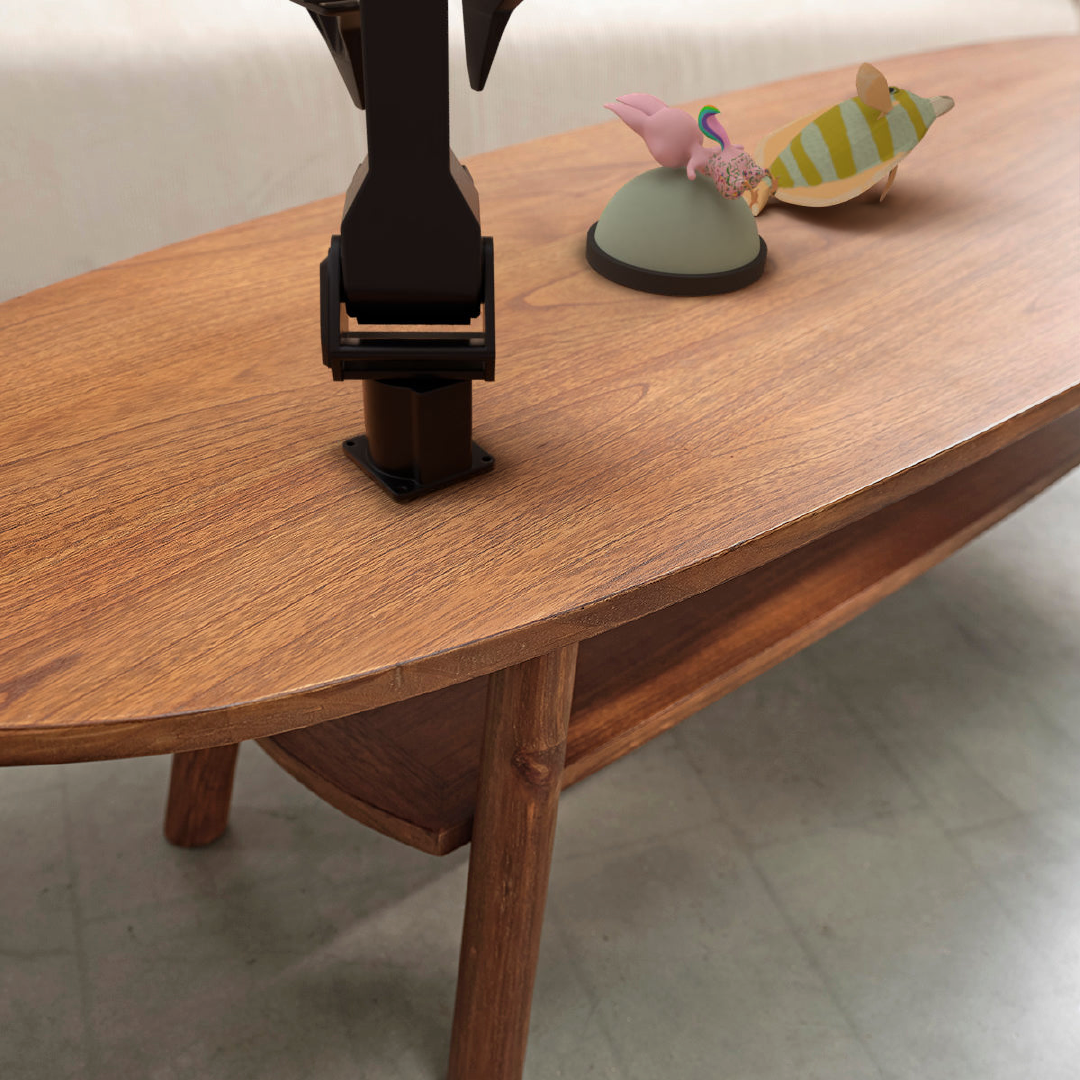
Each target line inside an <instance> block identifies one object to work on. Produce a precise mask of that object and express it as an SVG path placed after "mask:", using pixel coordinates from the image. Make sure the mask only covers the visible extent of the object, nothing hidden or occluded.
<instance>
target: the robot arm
mask: <svg viewBox="0 0 1080 1080" xmlns="http://www.w3.org/2000/svg"><path fill="white" fill-rule="evenodd" d="M288 1H289V2H290V3H293V4H295V5H298V6H300V7H303V8H304V9H305V10H306V12H307V13H308V15H309V17H310V18H311V20H312V22H313V23H314V25H315V27H316V28H317V31H318V32H319V34H320V36H321V37H322V39H323V41H324V43H325V45H326V46H327V49H328V51H329V53H330V55H331V57H332V59H333V61H334V64H335V65H336V68H337V70H338V72H339V74H340V77H341V79H342V81H343V83H344V85H345V87H346V89H347V93H349V96H350V99H351V100H352V102H353V105H354V106H355V108H357V109H358V110H361V111H365V127H366V142H367V143H366V147H367V153H366V155H365V156H364V159H363V161H362V162H361V163H359V164H358V166H357V168H356V169H355V172H354V174H353V176H352V179H351V182H350V184H349V186H348V187H347V189H346V193H345V198H344V204H343V210H342V216H341V222H340V229H339V230H340V234H331V238H330V246H329V247H328V250H327V255H326V256H325V258H324V259H322V261H320V262H319V325H320V327H319V328H320V330H319V331H320V346H321V358H322V365H323V366H325V367H327V368H328V370H329V369H331V374H332V376H331V377H332V381H333V382H335V383H336V382H341V383H342V382H344V381H361V385H362V399H363V400H362V402H363V416H364V428H365V429H364V430H365V433H363V434H360V435H357V436H354V437H351V438H348V439H345V440H343V442H341V448H342V452H343V454H344V455H346V457H347V458H349V459H350V460H351V461H352V462H353V463H354V464H355V465H356V466H357V467H359V468H360V469H361V471H363V472H364V473H365V474H366V475H367V476H368V477H369V478H370V479H371V480H372V481H374V483H376V484H377V485H378V486H379V487H380V488H381V489H382V490H383V491H384V492H385V493H387V495H388V496H389V497H391V499H393V500H394V501H397V502H405V501H408V500H411V499H414V498H417V497H419V496H422V495H425V494H427V493H431V492H433V491H436V490H439V489H441V488H444V487H447V486H450V485H453V484H455V483H457V482H460V481H464V480H466V479H469V478H471V477H475V476H477V475H480V474H482V473H485V472H488V471H490V470H493V469H494V468H495V467H496V458H495V456H493V455H492V454H491V453H490V452H488V451H487V449H485V448H483V446H481V445H480V444H479V443H477V442H476V441H475V440H473V381H484V382H485V383H491V382H492V383H495V382H496V381H495V380H496V352H497V351H496V350H497V349H496V302H495V301H496V298H495V297H496V295H495V245H494V243H495V241H494V236H493V235H482V226H481V225H482V224H481V208H480V207H481V206H480V194H479V191H478V190H477V188H476V186H475V181H474V178H473V177H472V174H471V172H470V170H469V169H468V167H467V166H466V165H465V164H461V162H460V160H459V159H458V157H457V156H456V153H454V151H453V149H452V148H451V145H450V143H451V140H450V139H451V137H450V135H451V133H450V131H451V130H450V129H451V128H450V42H449V41H450V36H449V35H450V34H449V32H450V31H449V23H450V22H449V0H288ZM524 1H525V0H461V6H462V7H461V8H462V23H463V24H462V25H463V36H464V49H465V63H466V69H467V77H468V81H469V87H470V90H473V91H475V92H478V93H480V92H482V91H484V89H485V87H486V83H487V81H488V77H489V75H490V73H491V69H492V66H493V63H494V60H495V57H496V55H497V52H498V48H499V46H500V43H501V40H502V37H503V35H504V32H505V29H506V27H507V26H508V23H509V21H510V18H511V16H512V14H513V12H514V11H515V9H517V8H518V7H519V6H520V5H521V3H523V2H524ZM481 307H482V309H481ZM481 310H482V311H481ZM481 312H482V331H370V330H369V331H367V330H366V331H365V330H363V331H356V330H355V331H352V330H350V325H349V324H350V323H349V321H350V319H349V318H351V319H355V318H356V323H357V325H361V326H363V325H365V326H366V325H367V326H369V325H370V326H372V325H374V326H393V325H394V326H472V325H471V324H472V323H471V321H472V319H478V317H479V316H480V315H481Z"/></svg>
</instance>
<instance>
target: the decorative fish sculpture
mask: <svg viewBox="0 0 1080 1080" xmlns="http://www.w3.org/2000/svg"><path fill="white" fill-rule="evenodd" d="M855 75H856V76H855V88H856V94H857V96H854V97H850V98H848V99H845V100H842V101H839V102H834V103H832V104H829V105H827V106H824V107H821V108H819V109H816V110H814V111H811V112H809V113H807V114H804V115H802V116H800V117H798V118H796V119H794V120H792V121H790V122H788V123H786V124H783V125H782V126H779V127H778V128H775V129H774V130H772V131H771V132H768V134H766V135H764V136H763V137H762V138H761V139H760V140H759V141H758V143H756V146H755V148H754V153H753V154H754V155H753V161H754V162H755V164H756V165H758V166H759V167H761V168H769V169H770V171H771V173H772V175H773V176H774V178H775V179H776V178H777V177H778V176H780V177H779V178H778V182H779V183H778V189H777V191H778V192H776V191H774V192H773V193H772V194H773V197H774V198H776V199H778V200H779V201H782V202H784V203H788V204H792V205H796V206H803V207H811V208H820V207H823V208H825V207H831V206H834V205H838V204H841V203H845V202H848V201H849V200H852V199H854V198H856V197H858V196H860V195H862V194H863V193H865V192H866V191H868V190H869V189H871V188H872V187H873V186H874V185H876V184H877V183H878V182H879V181H881V180H882V179H883V178H884V177H886V176H887V175H888V174H889V175H888V178H887V181H886V184H885V186H884V189H883V191H882V193H881V196H880V199H879V202H880V203H881V202H882V201H883V200H884V198H886V196H887V194H888V193H889V190H890V189H891V187H892V185H893V183H894V180H895V178H896V175H897V172H898V167H899V164H900V163H901V162H902V161H903V160H904V159H906V158H907V157H908V156H909V155H910V154H911V153H912V151H913V150H914V149H915V148H916V147H917V146H918V144H919V143H920V142H921V141H922V140H923V139H924V138H925V135H926V134H927V133H928V131H929V129H930V128H931V126H932V125H933V123H935V121H936V120H937V119H938V118H940V117H942V116H944V115H945V114H947V113H949V112H950V111H952V109H954V107H955V104H956V103H955V100H954V98H953V97H952V96H949V95H937V96H932V97H927V98H924V97H921V96H919V95H917V94H915V93H914V92H911V91H910V90H907V89H903V88H899V87H897V86H896V85H895V86H893V85H890V86H889V83H888V79H886V77H885V75H884V74H883V72H881V71H880V70H879V69H878V68H877V67H875V66H874V65H873V64H871V63H869V62H865V61H864V62H862V64H861V65H859V67H858V70H857V72H856V74H855ZM758 188H759V191H757V193H758V198H757V202H758V204H757V203H755V204H754V205H752V213H753V215H754V217H757V216H758V215H759V214H760V213H761V212H762V211H763V209H764V208H765V207H766V205H767V202H768V200H769V199H772V198H773V197H772V196H771V195H770V196H769V193H770V190H771V189H772V182H771V180H770V178H769V177H767V176H766V177H764V178H763V179H762V180H761V181H760V183H759V184H758V185H757V187H756V188H754V189H753V190H754V191H756V190H757V189H758ZM742 196H743V198H744V199H745V201H746V202H747V204H748V206H749V205H750V202H751V192H750V191H749V190H748V191H746V190H745V191H744V193H743V195H742Z"/></svg>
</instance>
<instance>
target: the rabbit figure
mask: <svg viewBox="0 0 1080 1080" xmlns="http://www.w3.org/2000/svg"><path fill="white" fill-rule="evenodd" d="M615 101H616V102H606V103H604V104H603V108H605V109H607V110H610V111H611V112H613V113H614V114H615V115H616V116H618V117H619V118H620V120H621V121H622V122H623V123H624V124H625V125H626V126H628V127H629V129H630V130H632V131H633V132H634V133H635V134H636V135H638V136H640V138H642V140H643V141H644V144H645V146H646V147H647V149H648V151H649V153H650V154H651V156H652V157H653V159H654V160H655V161H656V163H658V164H659V165H661V167H663V166H664V167H671V168H672V169H674V170H676V169H679V168H680V167H682V166H687V175H688V178H689V179H690V180H694V179H695V178H696V174H695V172H694V170H695V169H697V170H698V171H699V172H700V173H701V174H703V175H704V176H707V177H712V179H713V180H714V183H715V185H716V187H717V189H718V191H719V192H720V194H721V195H722V196H723V197H724V198H726V199H729V200H735V199H738V198H740V197H741V196H742V195H743V193H744V191H745V190H746V191H748V190H749V191H750V192H751V202H750V205H749V208H750V209H751V211H752V205H754V204H755V203H757V204H758V202H757V198H758V193H757V191H759V188H758V189H757V190H756V191H754V190H753V189H754V188H756V187H757V185H758V184H759V183H760V181H761V180H762V179H763V178H764V177H766V176H767V177H769V178H770V180H771V182H772V189H771V190H770V193H769V196H770V195H771V196H772V198H773V199H774V198H775V196H774V197H773V194H772V193H773V192H774V191H776V192H778V191H777V189H778V183H779V182H778V178H779V177H780V176H778V177H777V178H776V179H775V178H774V176H773V175H772V173H771V171H770V169H769V168H761V167H759V166H758V165H756V164H755V162H754V159H753V157H751V155H750V154H749V153H748V152H746V151H745V146H744V145H743V144H740V143H737V144H736V143H735V144H734V143H733V144H732V143H731V141H730V138H729V135H728V132H727V131H726V129H725V128H724V126H723V125H722V124H721V122H720V121H719V120H718V119H717V117H716V115H717V114H722V112H721V111H720V110H719V108H718V107H716V106H715V105H712V104H706V105H704V106H702V108H701V109H700V111H699V113H698V117H697V120H696V119H695V118H694V117H693V116H692V115H691V114H690V113H689V112H687V111H686V110H684V109H681V108H678V107H669V106H668V104H667V103H666V102H664V101H663V100H662V99H660V98H659V97H657V96H655V95H652V94H650V93H646V92H632V93H628V94H623V95H619V96H617V97H616V98H615ZM704 136H705V137H707V138H708V139H710V140H712V141H715V142H717V143H718V144H719V145H716V146H711V147H705V146H703V145H704Z"/></svg>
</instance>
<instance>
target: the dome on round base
mask: <svg viewBox="0 0 1080 1080" xmlns="http://www.w3.org/2000/svg"><path fill="white" fill-rule="evenodd" d="M694 172H695V174H696V178H695V179H694V180H690V179H689V178H688V175H687V166H682V167H680V168H679V169H676V170H674V169H672V168H671V167H664V166H659V167H656V168H653V169H649V170H647V171H644V172H643V173H640V174H638V175H636V176H635V177H633V178H632V179H630V180H628V181H627V182H626V183H624V185H623V186H622V187H620V188H619V189H617V191H616V192H615V193H614V194H613V196H612V197H611V198H610V199H609V201H608V202H607V203H606V206H605V207H604V209H603V210H602V213H601V215H600V217H599V219H598V220H597V221H595V222H593V223H592V225H591V226H590V227H589V229H588V230H587V233H586V241H585V242H586V243H585V244H586V245H585V258H586V260H587V262H588V265H589V266H590V267H591V268H592V269H593V270H594V271H596V272H597V273H598V274H599V275H601V276H603V278H605V279H608V280H610V281H612V282H614V283H617V284H619V285H621V286H625V287H628V288H630V289H634V290H638V291H642V292H646V293H652V294H657V295H664V296H675V297H709V296H718V295H723V294H730V293H733V292H738V291H740V290H743V289H745V288H747V287H749V286H751V285H754V283H756V282H758V280H760V278H761V277H762V276H763V274H764V272H765V267H766V261H767V255H768V245H767V242H766V240H765V239H764V238H763V237H762V236H761V235H760V234H759V229H758V224H757V221H756V219H755V216H754V215H753V213H752V211H751V209H750V208H749V206H748V204H747V202H746V201H745V199H744V198H743V196H741V197H740V198H738V199H735V200H729V199H726V198H724V197H723V196H722V195H721V194H720V192H719V191H718V189H717V187H716V185H715V183H714V180H713V179H712V177H707V176H704V175H703V174H701V173H700V172H699V171H698V170H697V169H695V170H694Z"/></svg>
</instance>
